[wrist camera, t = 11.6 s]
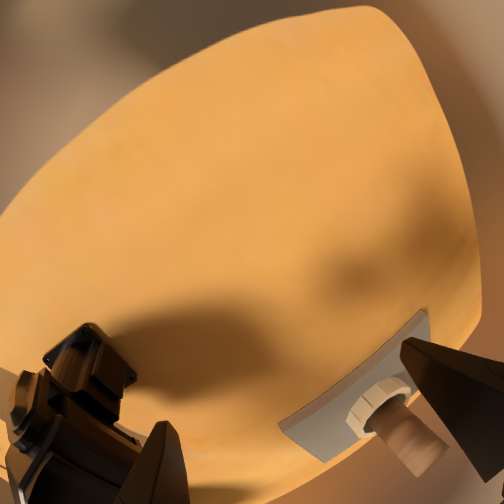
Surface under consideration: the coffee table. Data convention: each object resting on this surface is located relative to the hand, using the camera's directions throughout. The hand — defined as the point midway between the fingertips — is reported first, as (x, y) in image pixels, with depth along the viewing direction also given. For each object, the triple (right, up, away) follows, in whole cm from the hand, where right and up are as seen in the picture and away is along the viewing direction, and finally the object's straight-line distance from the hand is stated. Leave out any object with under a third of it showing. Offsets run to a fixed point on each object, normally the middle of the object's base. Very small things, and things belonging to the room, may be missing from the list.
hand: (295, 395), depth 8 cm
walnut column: (+15, -15, +21) cm, 30 cm away
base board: (+14, -15, +22) cm, 30 cm away
